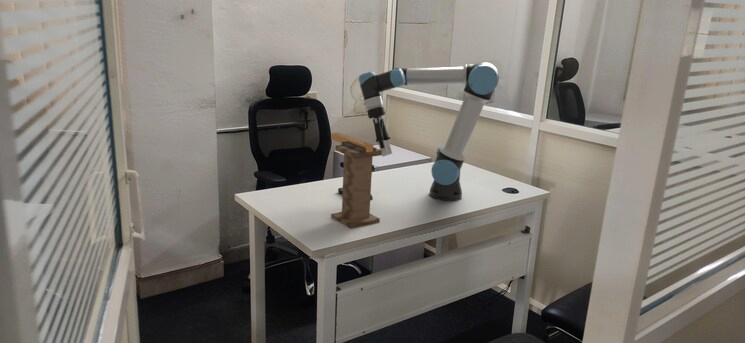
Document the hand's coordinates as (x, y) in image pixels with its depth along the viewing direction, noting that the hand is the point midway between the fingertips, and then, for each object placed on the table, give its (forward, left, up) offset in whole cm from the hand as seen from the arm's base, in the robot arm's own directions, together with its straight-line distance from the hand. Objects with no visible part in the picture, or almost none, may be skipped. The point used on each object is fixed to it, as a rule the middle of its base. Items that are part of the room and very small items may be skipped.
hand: (387, 155), depth 236 cm
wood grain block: (+12, +22, +9) cm, 27 cm away
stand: (+9, +26, -21) cm, 35 cm away
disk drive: (+14, -3, -22) cm, 26 cm away
